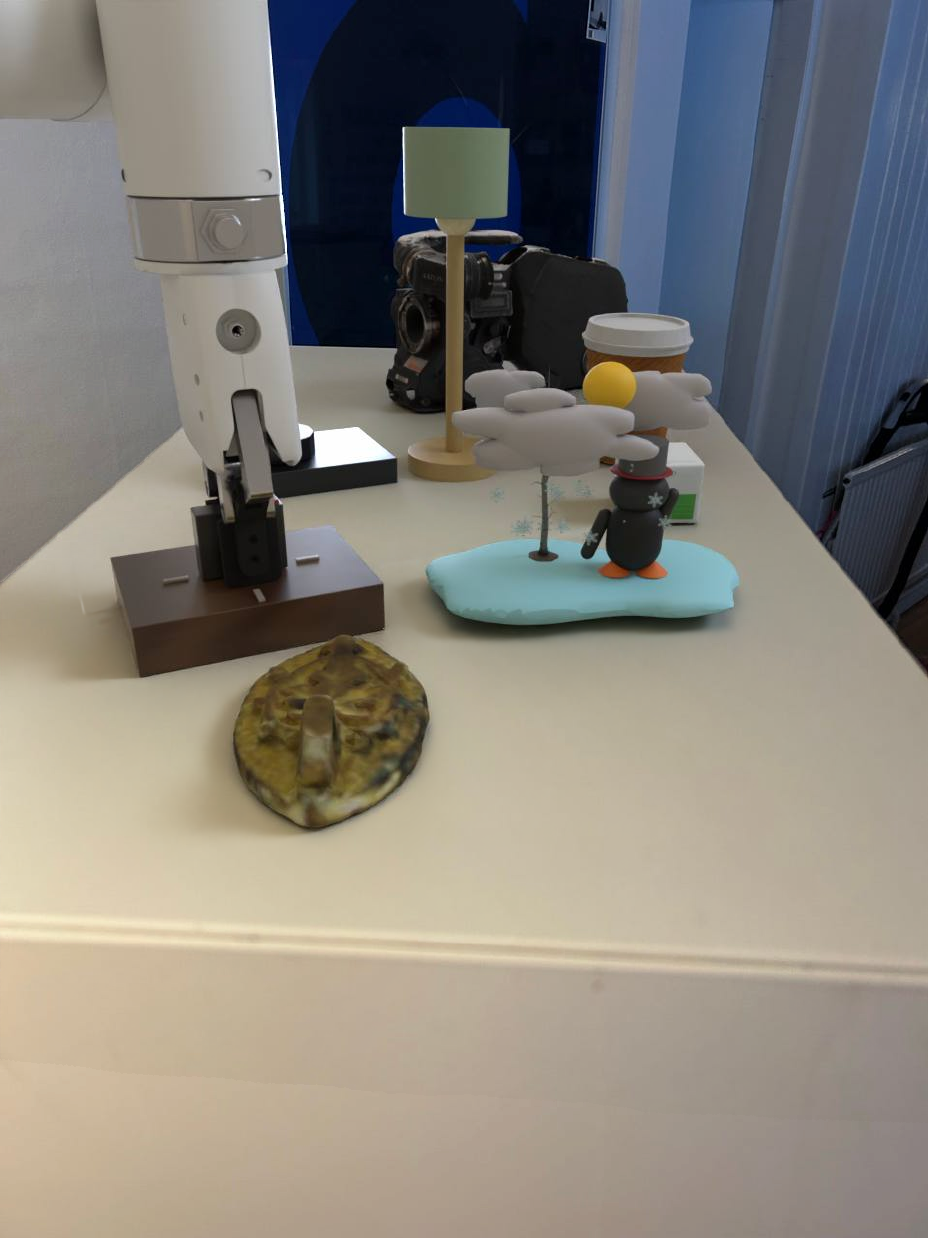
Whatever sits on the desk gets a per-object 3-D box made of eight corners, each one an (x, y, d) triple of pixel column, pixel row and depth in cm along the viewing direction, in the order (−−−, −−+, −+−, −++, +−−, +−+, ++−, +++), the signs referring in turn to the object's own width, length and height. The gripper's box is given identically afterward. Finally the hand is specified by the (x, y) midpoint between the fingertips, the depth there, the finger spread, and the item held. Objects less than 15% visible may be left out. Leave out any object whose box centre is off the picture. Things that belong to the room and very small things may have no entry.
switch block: (252, 502, 74) (247, 453, 72) (225, 465, 82) (221, 420, 80) (397, 483, 78) (396, 436, 77) (359, 450, 87) (357, 407, 85)
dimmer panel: (139, 677, 50) (130, 625, 49) (117, 601, 58) (109, 554, 57) (385, 629, 55) (383, 581, 54) (334, 565, 63) (331, 521, 62)
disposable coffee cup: (608, 478, 80) (621, 334, 75) (555, 447, 88) (563, 315, 83) (700, 465, 84) (718, 327, 78) (641, 436, 91) (654, 309, 86)
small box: (625, 526, 70) (631, 463, 68) (610, 500, 76) (615, 440, 73) (699, 525, 71) (708, 463, 69) (679, 499, 76) (686, 440, 74)
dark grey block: (203, 581, 54) (194, 512, 52) (198, 570, 55) (189, 502, 53) (288, 567, 56) (283, 500, 54) (281, 557, 57) (275, 491, 55)
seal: (261, 673, 53) (217, 852, 39) (243, 598, 51) (191, 760, 37) (425, 652, 53) (437, 824, 40) (415, 577, 51) (424, 731, 37)
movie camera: (423, 428, 90) (424, 231, 83) (349, 395, 104) (345, 225, 97) (670, 404, 105) (689, 234, 97) (575, 378, 119) (586, 229, 112)
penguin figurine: (713, 562, 65) (747, 337, 58) (765, 636, 55) (813, 377, 48) (424, 565, 64) (422, 336, 57) (427, 640, 54) (425, 377, 47)
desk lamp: (429, 487, 78) (427, 126, 65) (394, 460, 84) (387, 126, 72) (514, 475, 81) (528, 128, 68) (475, 449, 87) (481, 128, 75)
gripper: (329, 248, 42) (351, 616, 50) (247, 221, 55) (275, 516, 63) (155, 255, 39) (209, 644, 47) (112, 225, 52) (160, 533, 60)
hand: (246, 568), depth 55 cm, fingers closed
